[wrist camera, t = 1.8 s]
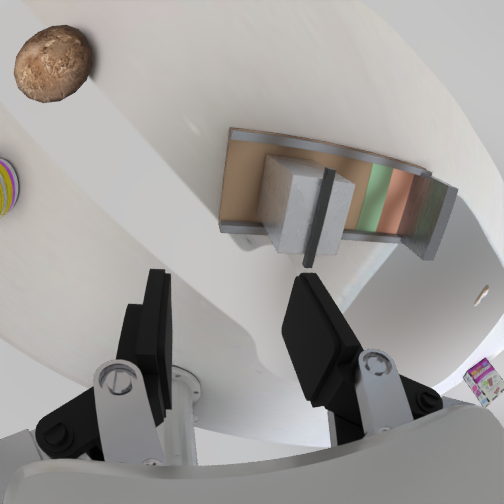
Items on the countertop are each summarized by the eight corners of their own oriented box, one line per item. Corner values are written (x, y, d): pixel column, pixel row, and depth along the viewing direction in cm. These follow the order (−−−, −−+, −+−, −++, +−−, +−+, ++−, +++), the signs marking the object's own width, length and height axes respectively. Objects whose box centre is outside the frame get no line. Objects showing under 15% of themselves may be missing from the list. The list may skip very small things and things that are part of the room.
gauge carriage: (317, 152, 26) (362, 175, 19) (301, 224, 30) (336, 268, 23) (267, 144, 25) (298, 164, 18) (255, 221, 29) (277, 267, 22)
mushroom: (5, 113, 16) (0, 88, 12) (27, 45, 16) (32, 11, 11) (76, 116, 22) (88, 92, 17) (92, 51, 21) (110, 20, 16)
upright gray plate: (425, 172, 30) (458, 189, 25) (405, 237, 34) (433, 260, 29) (414, 169, 29) (448, 185, 24) (394, 236, 34) (422, 260, 29)
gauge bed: (420, 166, 31) (432, 172, 29) (399, 236, 35) (409, 245, 33) (229, 127, 25) (232, 129, 23) (218, 223, 30) (220, 233, 28)
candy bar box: (462, 378, 74) (483, 409, 60) (466, 370, 71) (489, 402, 57) (481, 364, 75) (502, 393, 60) (485, 356, 72) (508, 386, 58)
